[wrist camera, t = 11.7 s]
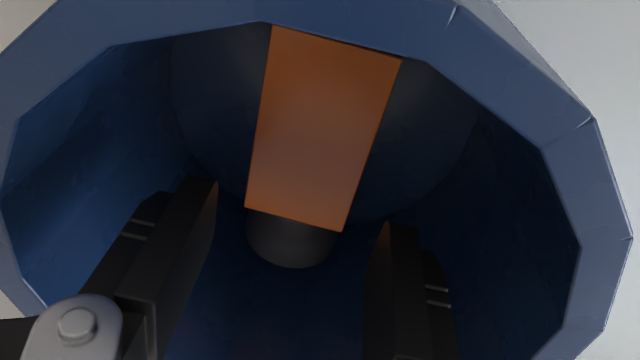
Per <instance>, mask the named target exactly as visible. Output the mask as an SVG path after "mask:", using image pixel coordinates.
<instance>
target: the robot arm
mask: <svg viewBox="0 0 640 360" xmlns="http://www.w3.org/2000/svg"><path fill="white" fill-rule="evenodd" d="M217 199H218V181H214V180H210V179H205V178H201V177H196V176H192V175H186V176H185V177H184V178H183V180H182V182H181V183H180V185H179V186H178V188H177V190H176V191H175V193H169V192H165V191H160V190H159V191H157V192H156V193H154V194H153V195H151V196H150V197H148V198H147V199H145V200H144V201H142V202H141V203H140V204H139V206H138V207H137V209H136V210H135V212H134V213H133V214H132V216H131V217H130V220H129V222H127V223H126V225H125V226H124V227H123V229H122V230H121V232H120V235H119V236H117V238H116V239H115V241H114V242H113V243H112V245H111V246H110V248H109V249H108V251H107V252H106V254H105V255H104V256H103V258H102V259H101V261H100V262H99V264H98V265H97V267H96V268H95V270H94V271H93V272H92V274H91V275H90V277H89V278H88V280H87V281H86V283H85V284H84V285H83V287H82V288H81V289H80V291H79V292H78V293H77V294H76V295H73V296H69V297H66V298H64V299H62V300H59V301H57V302H56V303H54V304H52V305H51V306H50V307H48V308H47V309H46V310H45V311H44V312H43V313H42V314H40V315H36V316H32V317H24V318H13V319H0V360H163V358H164V355H165V353H166V351H167V348H168V346H169V344H170V341H171V339H172V337H173V334H174V332H175V329H176V327H177V325H178V322H179V320H180V318H181V315H182V313H183V311H184V308H185V306H186V304H187V301H188V299H189V297H190V294H191V292H192V290H193V287H194V285H195V283H196V280H197V278H198V275H199V273H200V271H201V268H202V266H203V264H204V261H205V259H206V257H207V254H208V252H209V249H210V247H211V243H212V240H213V236H214V231H215V223H216V211H217ZM450 307H451V302H450V297H449V293H448V286H447V280H446V274H445V270H444V269H443V267H442V265H441V264H440V262H439V260H438V259H437V257H436V256H435V254H434V253H433V252H429V251H425V250H420V242H419V234H418V229H417V227H414V226H410V225H405V224H401V223H397V222H392V221H388V220H387V221H386V222H385V223H384V225H383V227H382V230H381V232H380V234H379V237H378V239H377V242H376V244H375V247H374V249H373V251H372V254H371V256H370V259H369V261H368V264H367V268H366V272H365V278H364V292H363V338H362V360H461V358H460V353H459V347H458V342H457V336H456V330H455V325H454V319H453V314H452V310H451V309H450Z"/></svg>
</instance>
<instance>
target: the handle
mask: <svg viewBox="0 0 640 360" xmlns="http://www.w3.org/2000/svg"><path fill="white" fill-rule="evenodd" d="M402 62H403V56H400V55H396V54H392V53H388V52H384V51H380V50H376V49H372V48H368V47H364V46H360V45H356V44H352V43H347V42H343V41H339V40H335V39H331V38H327V37H323V36H319V35H315V34H311V33H307V32H303V31H299V30H295V29H290V28H286V27H282V26H278V25H274V24H272V26H271V33H270V39H269V46H268V52H267V59H266V65H265V71H264V78H263V84H262V91H261V97H260V104H259V110H258V116H257V123H256V129H255V136H254V142H253V149H252V155H251V162H250V168H249V174H248V181H247V187H246V194H245V200H244V207H246V208H248V212H247V218H246V224H245V235H246V238H247V241H248V243H249V245H250V246H251V248H252V249H253V250H254V251H255V252H256V253H257V254H258V255H259V256H261V257H262V258H263V259H265V260H267V261H269V262H271V263H273V264H275V265H279V266H282V267H287V268H307V267H311V266H314V265H317V264H319V263H321V262H322V261H324V260H325V259H326V258H327V257H328V256H329V255H330V254H331V252H332V250H333V248H334V245H335V242H336V240H337V237H338V234H339V232H342V231H343V228H344V226H345V223H346V220H347V217H348V214H349V211H350V209H351V206H352V203H353V200H354V197H355V194H356V192H357V189H358V186H359V183H360V180H361V178H362V175H363V172H364V169H365V166H366V163H367V161H368V158H369V155H370V152H371V149H372V146H373V144H374V141H375V138H376V135H377V132H378V129H379V127H380V124H381V121H382V118H383V115H384V113H385V110H386V107H387V104H388V101H389V98H390V96H391V93H392V90H393V87H394V84H395V81H396V79H397V76H398V73H399V70H400V67H401V64H402Z"/></svg>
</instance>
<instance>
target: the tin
mask: <svg viewBox="0 0 640 360" xmlns="http://www.w3.org/2000/svg"><path fill="white" fill-rule="evenodd" d="M272 24H274V25H278V26H282V27H286V28H290V29H295V30H299V31H303V32H307V33H311V34H315V35H319V36H323V37H327V38H331V39H335V40H339V41H343V42H347V43H352V44H356V45H360V46H364V47H368V48H372V49H376V50H380V51H384V52H388V53H392V54H396V55H400V56H403V62H402V64H401V67H400V70H399V73H398V76H397V79H396V81H395V84H394V87H393V90H392V93H391V96H390V98H389V101H388V104H387V107H386V110H385V113H384V115H383V118H382V121H381V124H380V127H379V129H378V132H377V135H376V138H375V141H374V144H373V146H372V149H371V152H370V155H369V158H368V161H367V163H366V166H365V169H364V172H363V175H362V178H361V180H360V183H359V186H358V189H357V192H356V194H355V197H354V200H353V203H352V206H351V209H350V211H349V214H348V217H347V220H346V223H345V226H344V228H343V231H342V232H339V234H338V237H337V240H336V242H335V245H334V248H333V250H332V252H331V254H330V255H329V256H328V257H327V258H326V259H325V260H324V261H322V262H321V263H319V264H317V265H314V266H311V267H307V268H287V267H282V266H279V265H275V264H273V263H271V262H269V261H267V260H265V259H263V258H262V257H261V256H259V255H258V254H257V253H256V252H255V251H254V250H253V249H252V248H251V246H250V245H249V243H248V241H247V238H246V235H245V224H246V218H247V212H248V208H246V207H244V200H245V194H246V187H247V181H248V174H249V168H250V162H251V155H252V149H253V142H254V136H255V129H256V123H257V116H258V110H259V104H260V97H261V91H262V84H263V78H264V71H265V65H266V59H267V52H268V46H269V39H270V33H271V26H272ZM186 175H192V176H196V177H201V178H205V179H210V180H214V181H218V199H217V211H216V223H215V231H214V236H213V240H212V243H211V247H210V249H209V252H208V254H207V257H206V259H205V261H204V264H203V266H202V268H201V271H200V273H199V275H198V278H197V280H196V283H195V285H194V287H193V290H192V292H191V294H190V297H189V299H188V301H187V304H186V306H185V308H184V311H183V313H182V315H181V318H180V320H179V322H178V325H177V327H176V329H175V332H174V334H173V337H172V339H171V341H170V344H169V346H168V348H167V351H166V353H165V355H164V358H163V360H362V338H363V292H364V278H365V272H366V268H367V264H368V261H369V259H370V256H371V254H372V251H373V249H374V247H375V244H376V242H377V239H378V237H379V234H380V232H381V230H382V227H383V225H384V223H385V222H386V221H387V220H388V221H392V222H397V223H401V224H405V225H410V226H414V227H417V229H418V234H419V242H420V250H425V251H429V252H433V253H434V254H435V256H436V257H437V259H438V260H439V262H440V264H441V265H442V267H443V269H444V270H445V274H446V280H447V286H448V293H449V297H450V302H451V307H450V309H451V310H452V314H453V319H454V325H455V330H456V336H457V342H458V347H459V353H460V358H461V360H574V359H575V358H576V357H577V356H578V355H579V354H580V353H581V352H582V351H583V350H584V349H586V348H587V347H588V346H589V345H590V344H591V343H592V342H593V341H594V340H595V339H596V338H597V337H598V336H599V335H600V334H601V333H602V332H603V330H604V329H605V326H606V323H607V320H608V317H609V314H610V310H611V307H612V304H613V301H614V298H615V295H616V292H617V289H618V285H619V282H620V279H621V276H622V273H623V270H624V267H625V264H626V260H627V257H628V254H629V251H630V248H631V245H632V242H633V231H632V228H631V225H630V222H629V219H628V216H627V213H626V210H625V207H624V203H623V200H622V197H621V194H620V191H619V188H618V185H617V182H616V179H615V176H614V173H613V170H612V167H611V164H610V160H609V157H608V154H607V151H606V148H605V145H604V142H603V139H602V136H601V133H600V130H599V127H598V124H597V121H596V118H595V117H594V116H593V115H592V114H591V112H590V111H589V109H588V108H587V107H586V106H585V105H584V104H583V103H582V102H581V100H580V99H579V98H578V97H577V96H576V95H575V94H574V93H573V91H572V90H571V89H570V88H569V87H568V86H567V85H566V84H565V82H564V81H563V80H562V79H561V78H560V77H559V76H558V75H557V73H556V72H555V71H554V70H553V69H552V68H551V67H550V66H549V64H548V63H547V62H546V61H545V60H544V59H543V58H542V57H541V55H540V54H539V53H538V52H537V51H536V50H535V49H534V47H533V46H532V45H531V44H530V43H529V42H528V41H527V40H526V38H525V37H524V36H523V35H522V34H521V33H520V32H519V31H518V29H517V28H516V27H515V26H514V25H513V24H512V23H511V22H510V20H509V19H508V18H507V17H506V16H505V15H504V14H503V13H502V11H501V10H500V9H499V8H498V7H497V6H496V5H495V4H494V2H493V1H492V0H57V1H56V2H55V3H54V4H52V5H51V6H50V7H49V8H48V9H47V10H46V11H45V12H44V13H43V14H42V15H41V16H40V17H38V18H37V19H36V20H35V21H34V22H33V23H32V24H31V25H30V26H29V27H28V28H27V29H26V30H25V31H23V32H22V33H21V34H20V35H19V36H18V37H17V38H16V39H15V40H14V41H13V42H12V43H11V44H9V45H8V46H7V47H6V48H5V49H4V50H3V51H2V52H1V53H0V290H1V291H2V292H3V293H4V294H5V295H6V296H7V297H8V298H9V299H10V300H11V302H12V303H13V304H14V305H15V306H16V307H17V308H18V309H19V310H20V311H21V312H22V314H23V315H24V316H25V317H32V316H36V315H40V314H42V313H43V312H44V311H45V310H46V309H47V308H48V307H50V306H51V305H52V304H54V303H56V302H57V301H59V300H62V299H64V298H66V297H69V296H73V295H76V294H77V293H78V292H79V291H80V289H81V288H82V287H83V285H84V284H85V283H86V281H87V280H88V278H89V277H90V275H91V274H92V272H93V271H94V270H95V268H96V267H97V265H98V264H99V262H100V261H101V259H102V258H103V256H104V255H105V254H106V252H107V251H108V249H109V248H110V246H111V245H112V243H113V242H114V241H115V239H116V238H117V236H119V235H120V232H121V230H122V229H123V227H124V226H125V225H126V223H127V222H129V220H130V217H131V216H132V214H133V213H134V212H135V210H136V209H137V207H138V206H139V204H140V203H141V202H142V201H144V200H145V199H147V198H148V197H150V196H151V195H153V194H154V193H156V192H157V191H159V190H160V191H165V192H169V193H175V191H176V190H177V188H178V186H179V185H180V183H181V182H182V180H183V178H184V177H185V176H186Z"/></svg>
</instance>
